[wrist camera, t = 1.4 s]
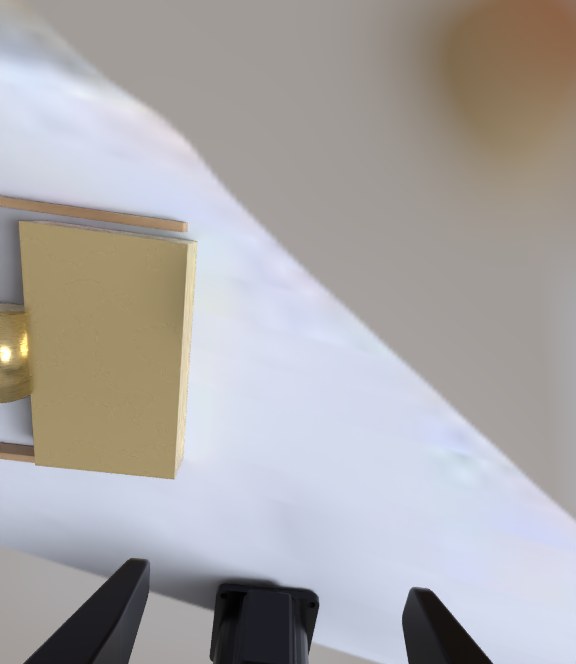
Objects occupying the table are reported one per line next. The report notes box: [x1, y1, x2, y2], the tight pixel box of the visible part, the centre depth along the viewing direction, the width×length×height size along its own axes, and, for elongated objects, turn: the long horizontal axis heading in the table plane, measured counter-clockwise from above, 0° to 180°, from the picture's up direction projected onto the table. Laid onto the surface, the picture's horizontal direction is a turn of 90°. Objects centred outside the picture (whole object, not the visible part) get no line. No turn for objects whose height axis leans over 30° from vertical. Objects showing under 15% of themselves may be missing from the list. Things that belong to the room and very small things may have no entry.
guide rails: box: [0, 196, 188, 463], centre depth 19 cm, size 14×12×1 cm
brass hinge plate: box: [0, 221, 197, 479], centre depth 18 cm, size 12×9×3 cm
